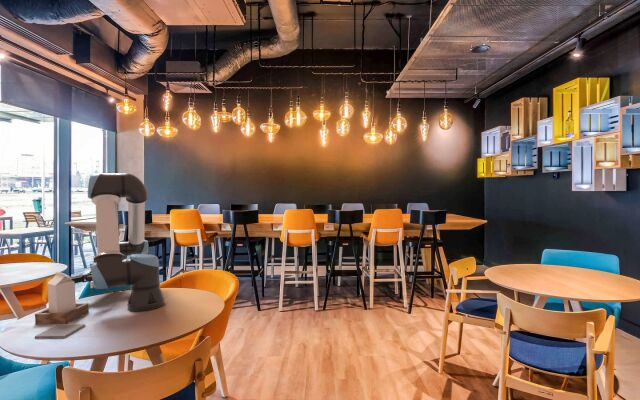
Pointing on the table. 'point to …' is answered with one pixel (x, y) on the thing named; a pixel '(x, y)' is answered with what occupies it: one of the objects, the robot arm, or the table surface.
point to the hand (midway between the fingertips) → (75, 285)
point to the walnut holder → (61, 315)
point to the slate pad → (60, 331)
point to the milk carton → (61, 294)
